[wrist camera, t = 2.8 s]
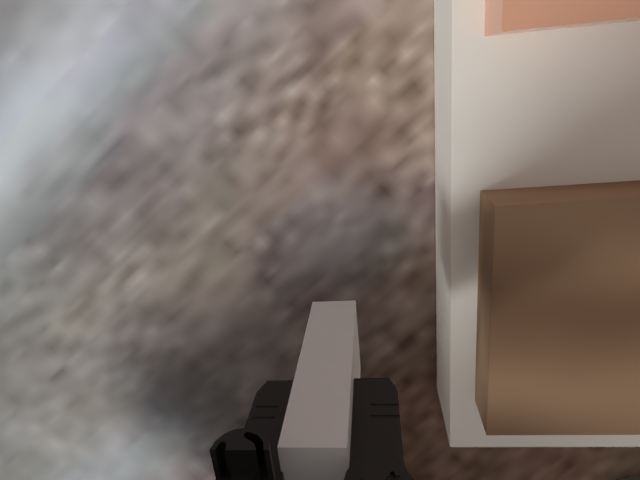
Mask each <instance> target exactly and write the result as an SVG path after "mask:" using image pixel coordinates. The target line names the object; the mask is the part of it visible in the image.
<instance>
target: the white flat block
mask: <svg viewBox="0 0 640 480" xmlns="http://www.w3.org/2000/svg"><path fill="white" fill-rule="evenodd" d="M484 26H485V0H434V72H435V207H436V343H437V391H438V396H439V400H440V405H441V409H442V414H443V418H444V422H445V427H446V431H447V436H448V440H449V445H450V447H640V435H486V432H485V429H484V426H483V423H482V420H481V417H480V414H479V411H478V408H477V405H476V402H475V371H476V333H477V294H478V256H479V218H480V191H482V190H497V189H513V188H528V187H544V186H559V185H575V184H590V183H605V182H621V181H636V180H640V21H634V22H624V23H615V24H605V25H595V26H586V27H576V28H566V29H556V30H547V31H537V32H527V33H518V34H508V35H498V36H488V37H484Z"/></svg>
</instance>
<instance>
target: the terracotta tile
mask: <svg viewBox="0 0 640 480" xmlns="http://www.w3.org/2000/svg"><path fill="white" fill-rule="evenodd" d="M634 21H640V0H485V26H484V37H488V36H498V35H508V34H518V33H527V32H537V31H547V30H556V29H566V28H576V27H586V26H595V25H605V24H615V23H624V22H634Z"/></svg>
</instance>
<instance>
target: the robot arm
mask: <svg viewBox="0 0 640 480" xmlns="http://www.w3.org/2000/svg"><path fill="white" fill-rule="evenodd" d="M360 372H361V365H360V352H359V338H358V324H357V311H356V300H355V301H326V302H313V303H312V307H311V311H310V315H309V319H308V323H307V327H306V331H305V335H304V340H303V344H302V348H301V352H300V356H299V360H298V364H297V368H296V372H295V377H294V380H287V381H267V382H266V383H265V384H264V385H263V386H262V387H261V389H260V390H259V391H258V392H257V393H256V396H255V399H254V402H253V405H252V408H251V411H250V414H249V416H248V420H247V422H246V425H245V428H241V429H235V430H233V431H230V432H228V433H226V434H224V435H223V436H221V437H220V438H219V439H218V440H216V441H215V443H214V444H213V446H212V447H211V449H210V454H211V458H212V463H213V467H214V472H215V476H216V480H414V479H413V478H412V477H411V476H410V475H409V473H408V472H407V470H406V468H405V465H404V461H403V451H402V439H401V428H400V417H399V405H398V393H397V389H396V387H395V386H394V385H393V383H392V382H391V380H390V379H389V378H360Z"/></svg>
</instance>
